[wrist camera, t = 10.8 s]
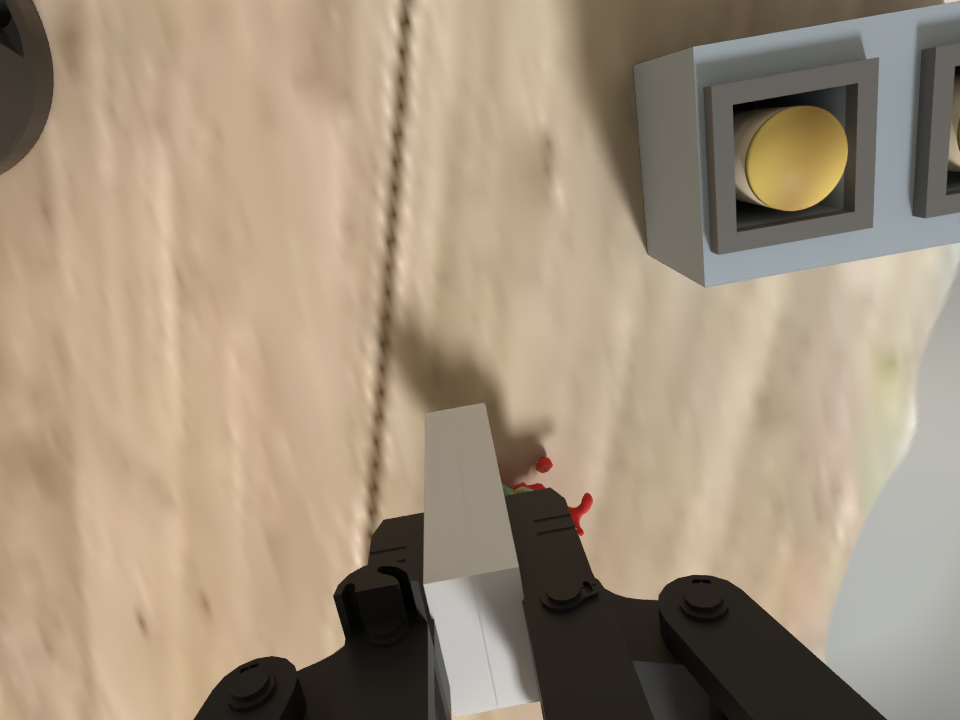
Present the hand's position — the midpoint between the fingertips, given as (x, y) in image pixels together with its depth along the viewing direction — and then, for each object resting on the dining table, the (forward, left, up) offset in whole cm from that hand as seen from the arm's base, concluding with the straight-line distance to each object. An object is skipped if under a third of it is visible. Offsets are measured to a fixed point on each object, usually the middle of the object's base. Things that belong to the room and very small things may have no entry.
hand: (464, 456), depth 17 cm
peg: (+12, +14, -28) cm, 33 cm away
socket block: (+16, +18, -29) cm, 38 cm away
